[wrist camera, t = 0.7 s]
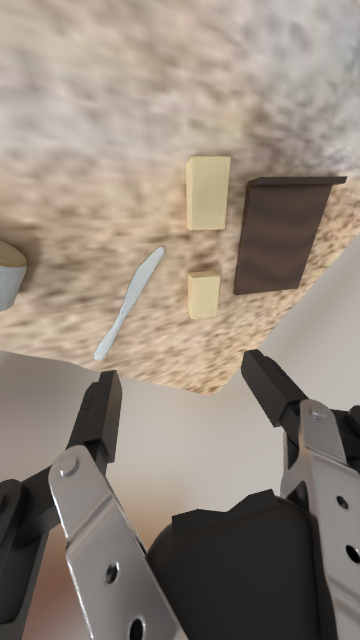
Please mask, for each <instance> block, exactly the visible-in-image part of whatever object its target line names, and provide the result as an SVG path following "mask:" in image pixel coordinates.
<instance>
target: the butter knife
mask: <svg viewBox="0 0 360 640" xmlns="http://www.w3.org/2000/svg"><path fill="white" fill-rule="evenodd" d="M164 252H165V250H164V248H163V247H159V248H157V249H156V250H155V251H154V252H153V253H152V254H151V255H150V256H149V257H148V258H147V259H146V260H145V261H144V262H143V264H142V265H141V266H140V267H139V268H138V269H137V271H136V273H135V275H134V277H133V279H132V281H131V283H130V286H129V288H128V290H127V293H126V296H125V299H124V303H123V306H122V308H121V311H120V313H119V315H118V318H117V320H116V321H115V323H114V325H113V326H112V328H111V329H110V331H109V332H108V333H107V335H106V336H105V337H104V339H103V340H102V341H101V343H100V345H99V346H98V348H97V349H96V351H95V353H94V359H96V360H98V361H99V360H102V359H103V358H104V357H105V355H106V354H107V352H108V350H109V349H110V347H111V345H112V343H113V341H114V339H115V336H116V334H117V332H118V330H119V328H120V326H121V324H122V322H123V320H124V319H125V317H126V315H127V313H128V312H129V310H130V309H131V307H132V305H133V304H134V302H135V301H136V299H137V297H138V296H139V294H140V292H141V291H142V289H143V288H144V286H145V284H146V283H147V281H148V279H149V277H150V276H151V274H152V272H153V270H154V268H155V267H156V265H157V263H158V262H159V260H160V259H161V257H162V255H163V254H164Z"/></svg>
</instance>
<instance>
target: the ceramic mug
mask: <svg viewBox="0 0 360 640" xmlns="http://www.w3.org/2000/svg"><path fill="white" fill-rule="evenodd" d="M26 269H27V260H26V258H25V256H24V255H23V254H22V253H21V252H20V251H19V250H17V249H16V248H14V247H13V246H11V245H9V244H7V243H5V242H3V241H1V240H0V311H4V310H7V309H8V308H10V307H11V306H12V305H13V303H14V301H15V298H16V296H17V293H18V291H19V288H20V285H21V282H22V280H23V278H24V275H25V273H26Z"/></svg>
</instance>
